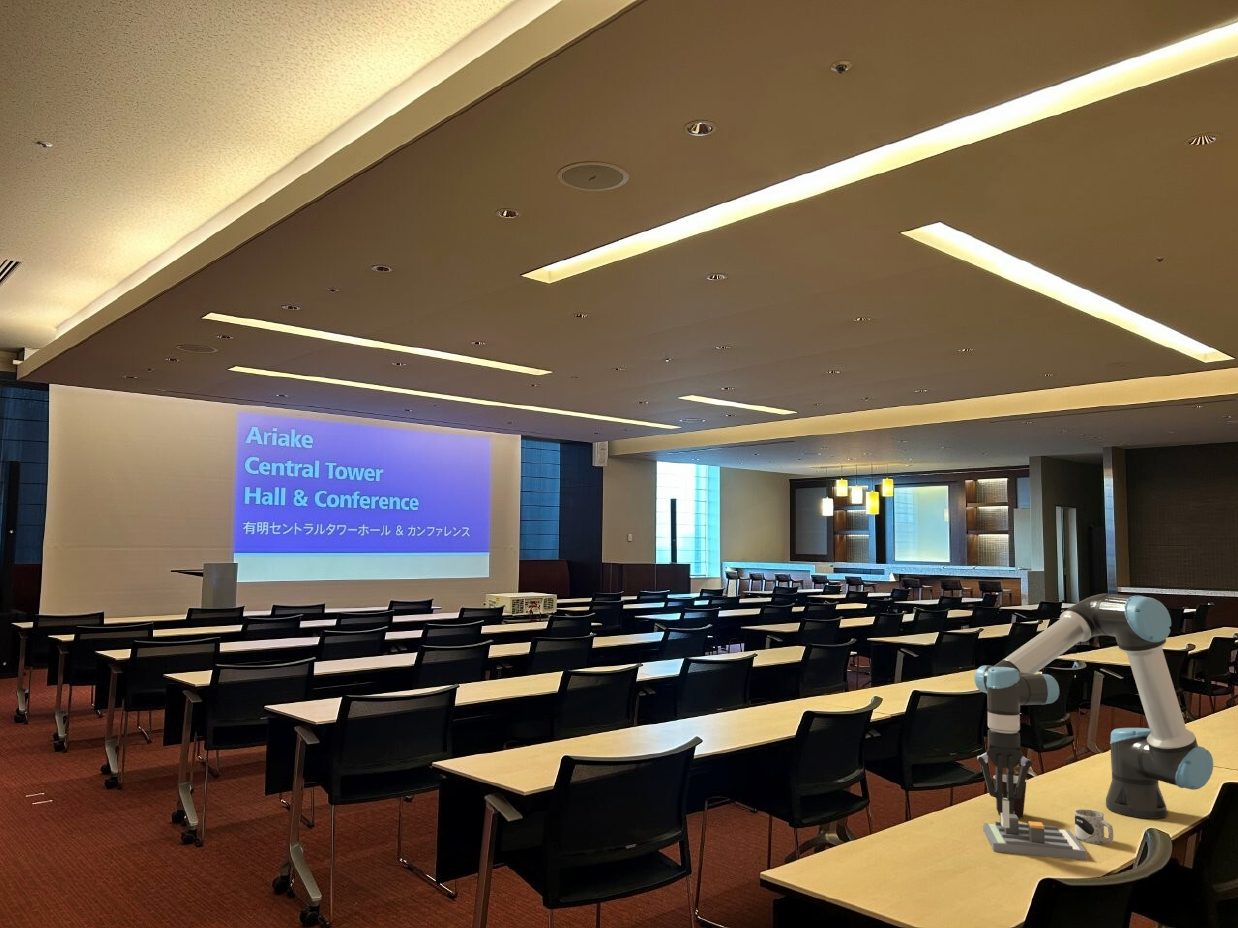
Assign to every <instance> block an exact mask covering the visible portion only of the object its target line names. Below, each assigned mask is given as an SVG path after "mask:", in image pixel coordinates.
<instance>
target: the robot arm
mask: <svg viewBox="0 0 1238 928" xmlns="http://www.w3.org/2000/svg"><path fill="white" fill-rule="evenodd" d="M1170 627H1172V619H1171V615H1170V613H1169V610H1168V609H1167V608H1166V607H1165V605H1164V604H1163V603H1162V602H1161V601H1159V600H1157V599H1155V598H1153V597H1149V596H1148V597H1147V596H1144V595H1127V594H1115V593H1114V594H1112V593H1099V594H1096V595H1091V596H1089V597H1086V598H1084V599H1082V600H1081V601H1079V602H1077V603H1075V604H1073V605H1072V606H1069V608H1066V609H1065V610H1064V611H1063V612H1062V613H1061V614H1060V615H1059V619H1058V620H1057V621H1055V622H1054V623H1053V624H1052V625H1050V626H1049V627H1047V628H1045V630H1043V631H1041V632H1040V633H1038V634H1037V635H1036V636H1035V637H1033V638H1031V639H1030V640H1029V641H1027V642H1026V643H1025V644H1023V645H1021V646H1020V647H1019V648H1017V649H1016V650H1014V651H1013V652H1012V653H1010V654H1009V655H1008V656H1006V657H1005V658H1003V659H1002V660H1000V661H999V662H998V663H996V664H995V665H989V664H988V665H981V666H979V667H978V668H977V669H976V671H975V672H974V683H975V686H976V688H977V689H978V690H979V691H980V692H981V693H985V694H986V698H987V701H986V702H987V705H986V706H987V727H988V728H989V729H988V730H987V747H986V749H985V752H984V753H983V754H981V755H980V754H979V755H978V754H977V756H976V759H977V761H978V762H979V763H980V765H981V769H982V773H983V777H984V780H985V784H986V789H987V793H988V794H989V795H990V797H993V798H995V800H996V802H995V804H996V805H995V806H996V811H997V813H998V812H999V813H1001V825H1002V826H1003V827H1004V828H1009V813H1011V814H1013V812H1014V800H1015V799H1020V798H1021V797H1022V793H1023V789H1024V785H1025V781H1026V780H1027V776H1028V771H1029V769H1030V768H1031V767H1032V765H1033V762H1032V760H1031V759H1029V758H1026V757H1025V756H1024V755H1023V752H1022V749H1021V733H1020V732H1019V731H1020V730H1021V720H1020V719H1021V718H1020V715H1021V711H1020V709H1021V707H1020V706H1030V705H1031V706H1033V705H1042V706H1045V705H1047V704H1053V703H1055V702H1056V701H1057V700H1058V699H1059V696H1060V687H1059V683H1058V681H1057V679H1055V677H1053V675H1050V674H1048V673H1047V674H1046V673H1038V672H1039V671H1040V670H1042V669H1043V668H1044V667H1046V666H1047V665H1048V664H1050V663H1051V662H1052V661H1054V660H1056V659H1057V658H1059V657H1060V656H1061V655H1063V654H1064V653H1066V652H1067V651H1068V650H1070V649H1071V648H1072V647H1074V646H1075V645H1077V644H1078V643H1079V642H1083V643H1085V642H1087V641H1089V640H1090V639H1092V638H1093V637H1097V636H1098V637H1099V636H1109V637H1115V640H1116V644H1117V647H1118V649H1119V650H1120V651H1122V652H1124V653H1126V655H1127V659H1128V661H1129V665H1130V668H1131V671H1132V675H1133V678H1134V680H1135V684H1136V688H1137V691H1138V694H1139V695H1138V696H1139V699H1140V702H1141V705H1142V707H1143V711H1144V714H1145V718H1146V722H1147V724H1148V728H1145V727H1121V728H1115V729H1113V730H1112V731H1111V732H1110V742H1109V745H1110V764H1111V782H1110V785H1109V788H1108V792H1107V794H1106V798H1105V807H1106V808H1107V809H1108V811H1109V810H1110V811H1111V812H1114V813H1117V814H1120V815H1124V816H1128V817H1134V818H1142V819H1162V818H1166V817H1167V815H1168V808H1167V804H1166V801H1165V799H1164V797H1163V794H1162V791H1161V789H1160V786H1159V782H1162V783H1166V784H1169V785H1172V786H1173V785H1174V786H1176V787H1179V788H1181V789H1188V790H1199V789H1201V788H1203V787H1205V786H1206V784H1207V783H1209V781H1210V779H1211V776H1212V774H1213V771H1214V759H1213V755H1212V754H1211V752H1210V751H1209V749H1206V748H1205V747H1203V746H1199V744H1198V741H1197V737H1196V735H1195V734H1194V732H1193V731H1191V730H1189V729H1188V728H1187V727H1186V724H1185V720H1184V717H1183V713H1182V710H1181V707H1180V703H1179V700H1178V697H1177V693H1176V690H1175V688H1174V687H1175V686H1174V683H1173V680H1172V677H1171V673H1170V670H1169V667H1168V663H1167V660H1166V657H1165V653H1164V650H1163V647H1164V646H1165V644H1166V643H1167V637H1168V636H1169V635H1170V633H1171V629H1170ZM988 758H989V760H990V761H991V763H993V765H994V767H995V768H994V769H995V775H996V791H994V788H995V787H994V788H993V785H994V784H993V785H992V781H991V779H992V777H991V774H990V770H989V767H988V763H989V760H988ZM1019 762H1020V765H1021V766H1020V769H1019V773H1018V781H1017V785H1016V789H1015V792H1014V779H1013V776H1014V773H1015V769H1014V768H1015V767H1016V766H1017V764H1019ZM1003 769H1005V770H1006V771H1005V772H1006V775H1007V798H1003V782H1002V775H1003V773H1004V772H1003ZM1026 782H1027V781H1026Z"/></svg>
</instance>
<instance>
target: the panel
mask: <svg viewBox="0 0 1238 928" xmlns="http://www.w3.org/2000/svg"><path fill="white" fill-rule="evenodd" d="M982 824H983V826H982V827H983V833H984V835H985V837H986V840H987V842H988V843H989V845H990V847H991V849H992V851H993V852H994V853H995V852H996V853H1007V854H1008V853H1009V854H1017V855H1031V856H1039V857H1040V856H1041V857H1054V858H1060V859H1061V858H1062V859H1075V860H1083V861H1084V860H1085V861H1087V857H1088V856H1087V850H1086V849H1085V848H1084V846H1083V845H1082V844H1081V842H1080V841H1079V840H1077V839H1076V838H1075V834H1073V832H1072V831H1071V830H1070V829H1059V828H1058V826H1053V825H1044V838H1045V844H1043V843H1032V842H1030V841H1029V826H1028V823H1019V835H1011V834H1005V833H1004V828H1001V826H1000V821H995V823H986V822H983V823H982Z"/></svg>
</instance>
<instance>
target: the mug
mask: <svg viewBox="0 0 1238 928" xmlns="http://www.w3.org/2000/svg"><path fill="white" fill-rule="evenodd" d="M1105 827H1106V828H1107V830H1108V831H1107V832H1108V836H1107V837H1106V836H1105ZM1074 836H1075V838H1076V839H1077V840H1078V841H1079V842H1081V843H1085V844H1092V845H1101V844H1104V843H1107V844H1111V843H1113V841H1114V829H1113V825H1112V824H1110V823H1109V822H1107V821H1106V820H1105V819H1104V814H1103V813H1102V812H1100V811H1097V810H1093V809H1084V808H1081V809H1075V810H1074Z"/></svg>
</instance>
